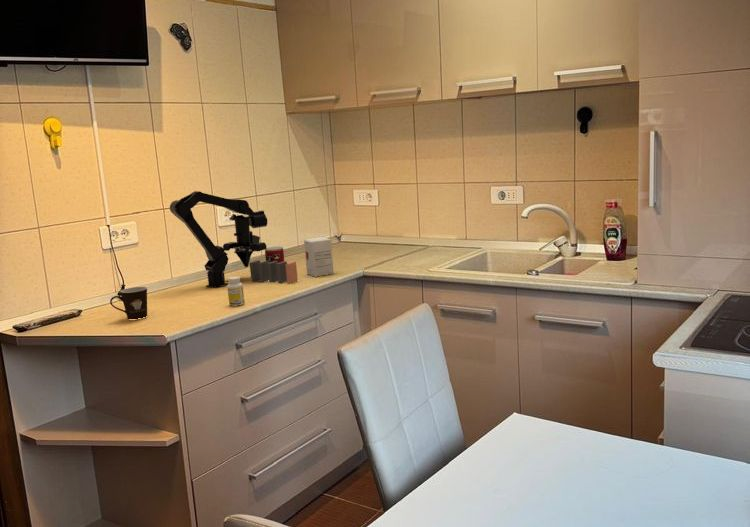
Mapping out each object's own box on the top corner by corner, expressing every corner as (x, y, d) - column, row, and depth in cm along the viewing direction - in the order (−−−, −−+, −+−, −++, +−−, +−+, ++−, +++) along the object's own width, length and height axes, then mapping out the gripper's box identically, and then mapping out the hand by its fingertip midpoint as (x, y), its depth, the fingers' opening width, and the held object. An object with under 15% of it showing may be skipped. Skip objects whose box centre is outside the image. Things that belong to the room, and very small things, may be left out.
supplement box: (306, 274, 295) (303, 239, 292) (325, 271, 299) (322, 236, 296) (314, 277, 287) (311, 241, 284) (334, 274, 291) (331, 238, 288)
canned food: (263, 274, 301) (261, 249, 299) (274, 270, 308) (272, 246, 306) (278, 275, 298) (275, 249, 296) (288, 271, 304) (286, 246, 302)
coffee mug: (153, 313, 244) (149, 286, 242) (146, 320, 236) (142, 291, 234) (120, 316, 244) (116, 288, 242) (111, 323, 236) (107, 294, 234)
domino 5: (290, 283, 278) (288, 264, 277) (287, 283, 279) (285, 264, 278) (297, 281, 283) (295, 261, 281) (294, 280, 283) (292, 261, 282)
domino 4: (281, 283, 281) (279, 263, 279) (278, 283, 281) (276, 263, 280) (288, 280, 285) (286, 261, 283) (285, 280, 286) (283, 261, 284)
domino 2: (263, 282, 285) (261, 263, 283) (260, 282, 286) (258, 263, 284) (270, 279, 289) (268, 260, 288) (267, 279, 290) (265, 260, 288)
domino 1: (254, 281, 287) (252, 262, 285) (251, 281, 288) (249, 262, 286) (262, 279, 291) (260, 260, 290) (258, 279, 292) (257, 260, 291)
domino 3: (272, 282, 283) (270, 263, 281) (269, 282, 283) (267, 263, 282) (279, 280, 287) (277, 261, 285) (276, 280, 288) (274, 260, 286)
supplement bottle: (238, 302, 253) (235, 275, 251) (247, 303, 250) (245, 276, 248) (226, 305, 249) (223, 278, 247) (236, 307, 246) (233, 279, 244)
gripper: (272, 226, 290) (276, 263, 293) (237, 226, 299) (241, 262, 302) (256, 231, 281) (260, 269, 284) (220, 231, 289) (224, 267, 292)
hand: (246, 267), depth 291 cm, fingers closed
